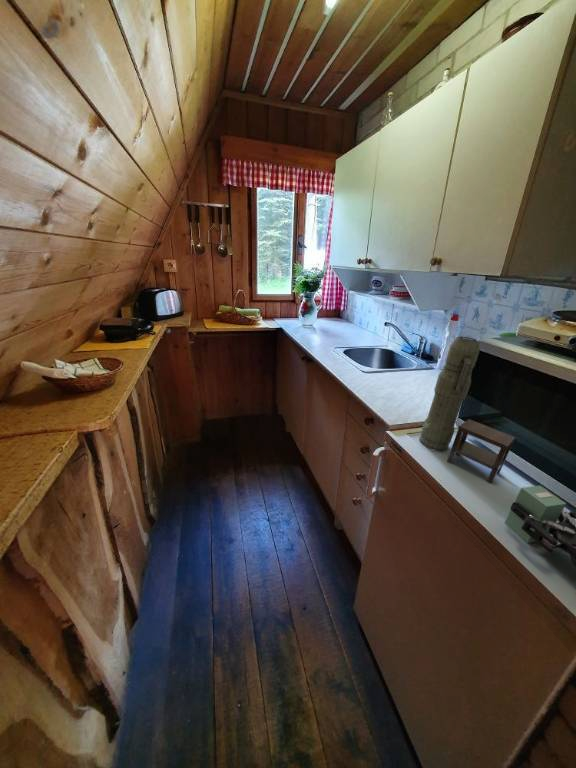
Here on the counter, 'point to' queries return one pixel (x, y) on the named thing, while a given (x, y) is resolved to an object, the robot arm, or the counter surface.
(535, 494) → the pale green box
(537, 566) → the counter surface
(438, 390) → the stone statue
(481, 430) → the rack
